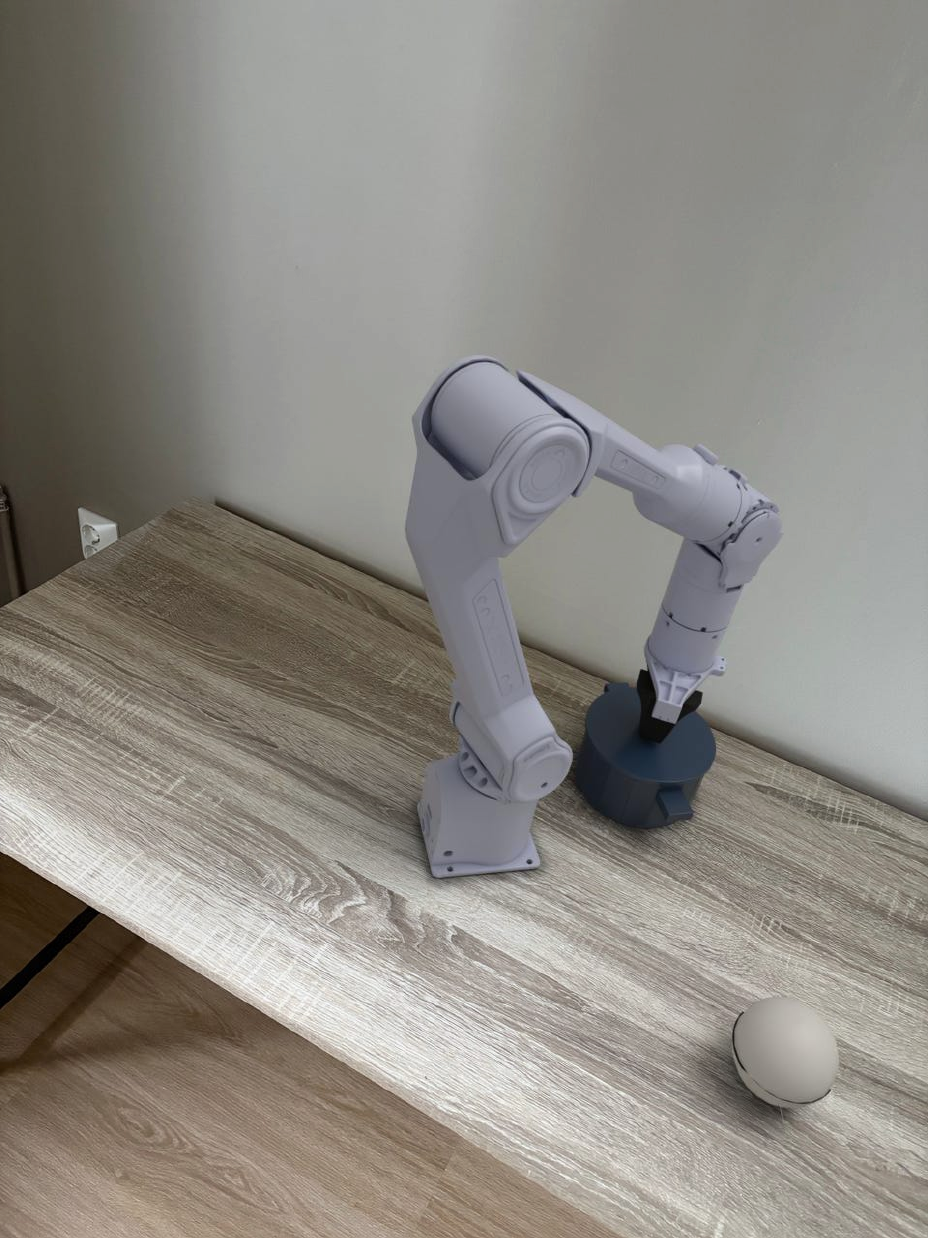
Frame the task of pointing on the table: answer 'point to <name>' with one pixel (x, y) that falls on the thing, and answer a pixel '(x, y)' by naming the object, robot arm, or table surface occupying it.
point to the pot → (630, 790)
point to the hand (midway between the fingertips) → (652, 727)
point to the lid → (648, 741)
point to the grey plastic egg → (785, 1052)
